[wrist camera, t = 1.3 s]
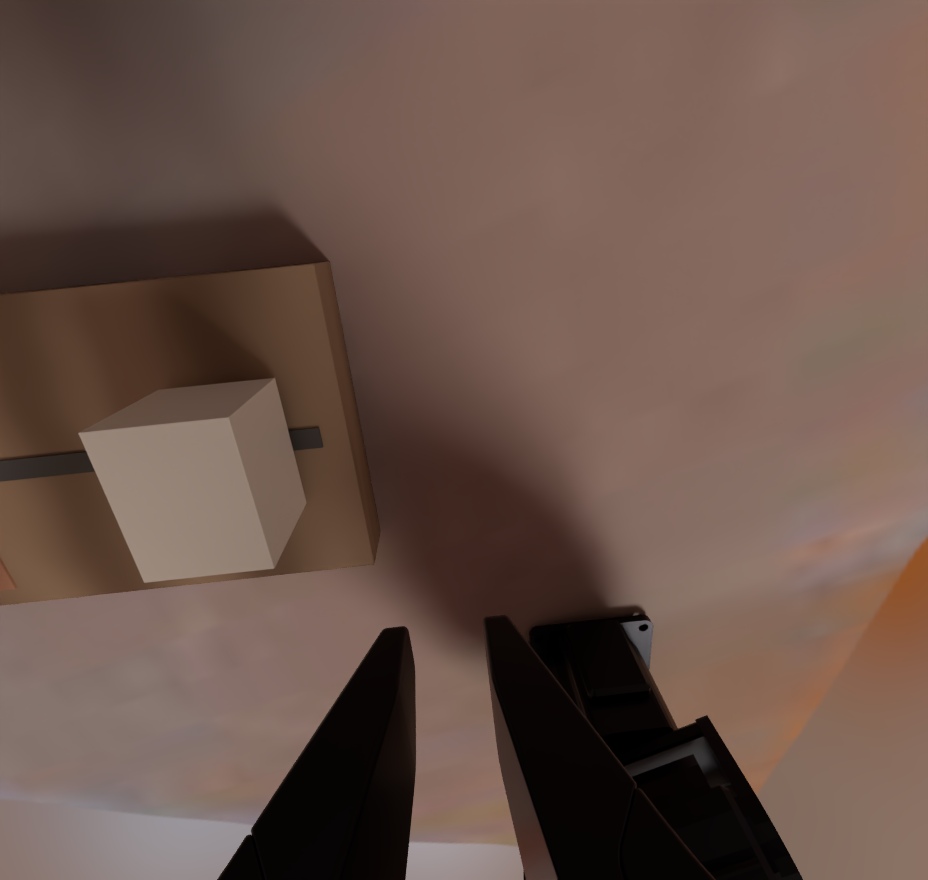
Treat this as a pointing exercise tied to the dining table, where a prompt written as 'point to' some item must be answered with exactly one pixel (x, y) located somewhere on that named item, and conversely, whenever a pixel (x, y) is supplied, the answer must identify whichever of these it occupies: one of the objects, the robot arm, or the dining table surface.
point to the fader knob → (200, 478)
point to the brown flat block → (163, 367)
